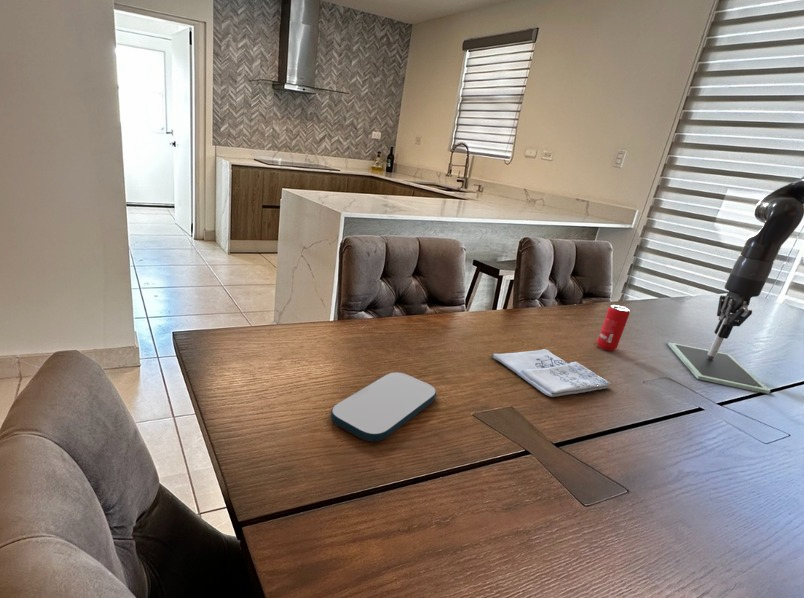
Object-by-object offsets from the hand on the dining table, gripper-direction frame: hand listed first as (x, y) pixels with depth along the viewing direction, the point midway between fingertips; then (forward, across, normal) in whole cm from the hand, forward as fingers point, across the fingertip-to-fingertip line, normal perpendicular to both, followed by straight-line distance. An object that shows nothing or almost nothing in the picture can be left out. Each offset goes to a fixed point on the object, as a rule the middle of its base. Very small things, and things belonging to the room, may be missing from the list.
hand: (720, 335), depth 128 cm
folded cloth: (+8, -32, +46) cm, 56 cm away
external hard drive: (+8, -65, +79) cm, 102 cm away
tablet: (+8, -4, 0) cm, 9 cm away
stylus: (+7, 0, 0) cm, 7 cm away
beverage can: (+8, -6, +28) cm, 30 cm away
